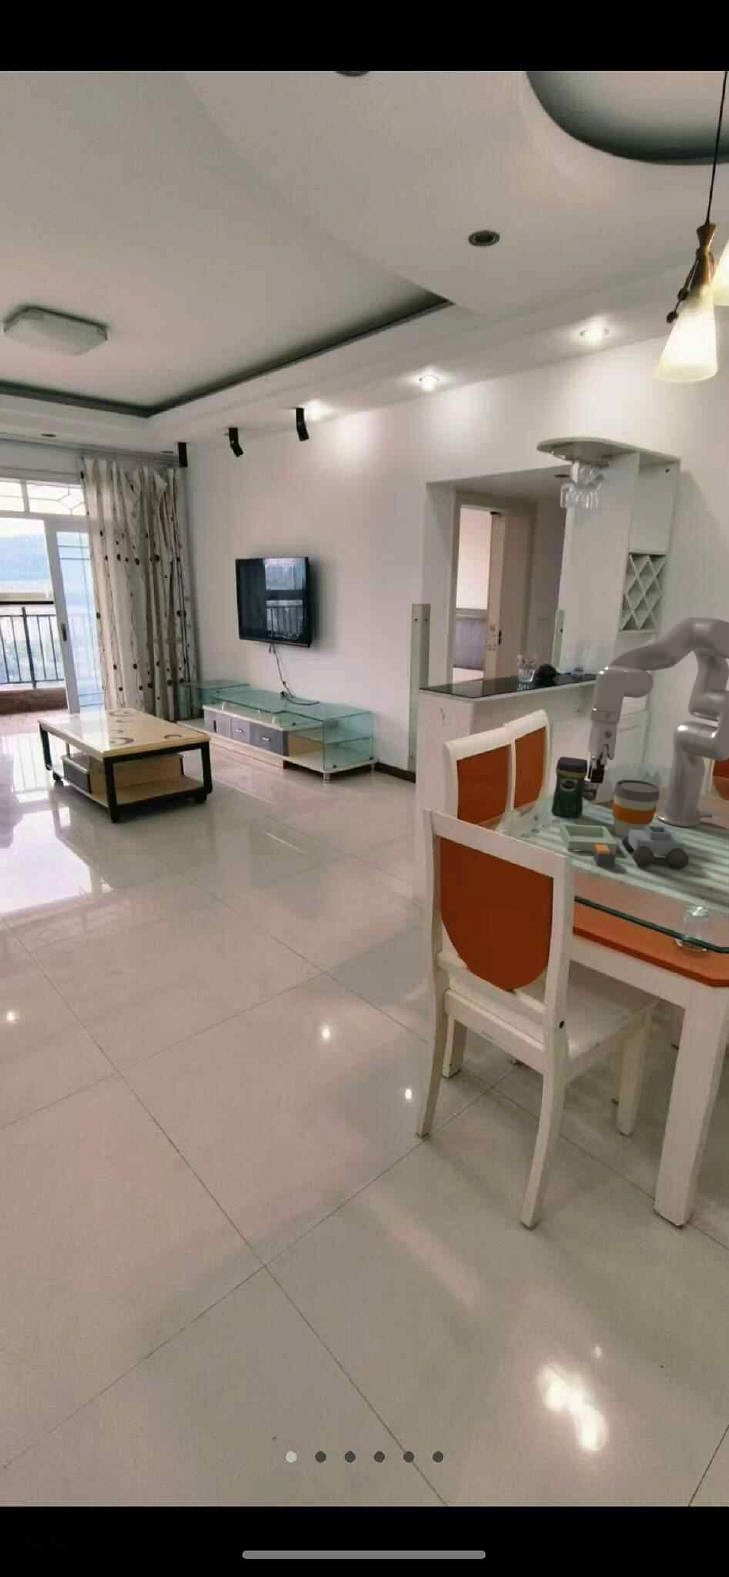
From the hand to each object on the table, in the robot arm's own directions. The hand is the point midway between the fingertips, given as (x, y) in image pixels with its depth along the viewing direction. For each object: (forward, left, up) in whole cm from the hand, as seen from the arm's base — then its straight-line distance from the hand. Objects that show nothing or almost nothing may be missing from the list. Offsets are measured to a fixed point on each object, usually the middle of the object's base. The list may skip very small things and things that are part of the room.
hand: (594, 780), depth 184 cm
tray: (0, 0, -19) cm, 19 cm away
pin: (0, 0, -2) cm, 2 cm away
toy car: (-16, +8, -19) cm, 26 cm away
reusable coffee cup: (-15, -10, -19) cm, 27 cm away
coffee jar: (+1, -24, -19) cm, 31 cm away
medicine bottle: (-12, -40, -19) cm, 46 cm away
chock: (-2, +13, -19) cm, 23 cm away
